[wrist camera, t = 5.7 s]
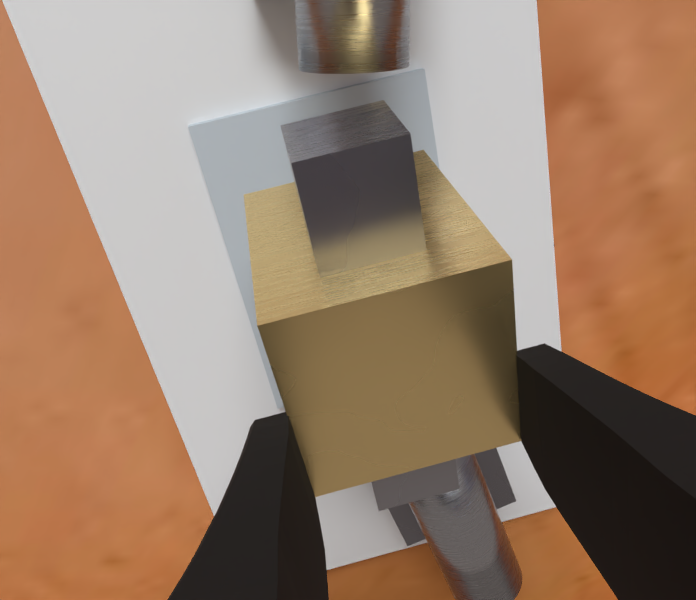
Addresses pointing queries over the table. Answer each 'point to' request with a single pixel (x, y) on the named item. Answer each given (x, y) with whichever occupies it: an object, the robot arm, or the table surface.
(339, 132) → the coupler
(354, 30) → the shaft
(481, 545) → the shaft
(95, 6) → the bench
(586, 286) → the table surface
